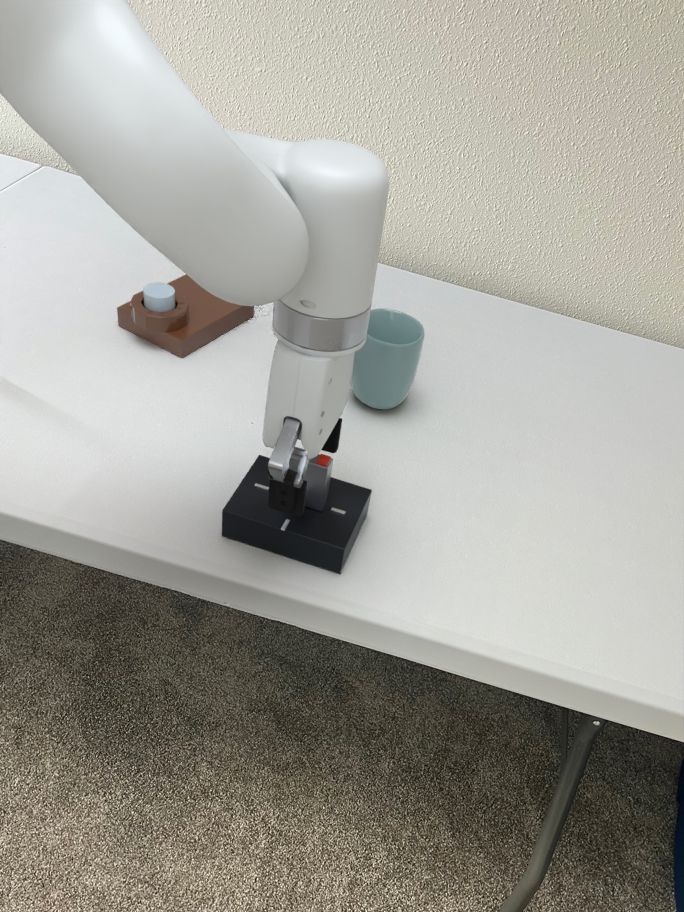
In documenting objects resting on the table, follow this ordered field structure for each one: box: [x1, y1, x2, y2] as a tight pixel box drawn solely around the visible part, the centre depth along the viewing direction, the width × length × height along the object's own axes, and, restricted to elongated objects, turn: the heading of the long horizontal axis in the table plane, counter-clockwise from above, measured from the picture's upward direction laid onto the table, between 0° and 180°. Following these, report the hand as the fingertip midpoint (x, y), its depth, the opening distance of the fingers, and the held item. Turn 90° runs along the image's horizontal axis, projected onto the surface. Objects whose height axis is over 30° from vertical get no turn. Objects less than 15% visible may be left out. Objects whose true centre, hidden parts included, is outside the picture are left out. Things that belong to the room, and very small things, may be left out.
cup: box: [350, 307, 426, 410], centre depth 92 cm, size 8×8×10 cm
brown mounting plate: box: [116, 274, 255, 359], centre depth 98 cm, size 15×10×4 cm, turn 150°
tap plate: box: [221, 454, 373, 575], centre depth 76 cm, size 12×9×4 cm
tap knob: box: [288, 446, 334, 512], centre depth 73 cm, size 5×2×6 cm, turn 75°
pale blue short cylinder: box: [142, 281, 175, 312], centre depth 93 cm, size 4×4×2 cm
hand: (304, 477), depth 73 cm, fingers open, 9 cm apart
